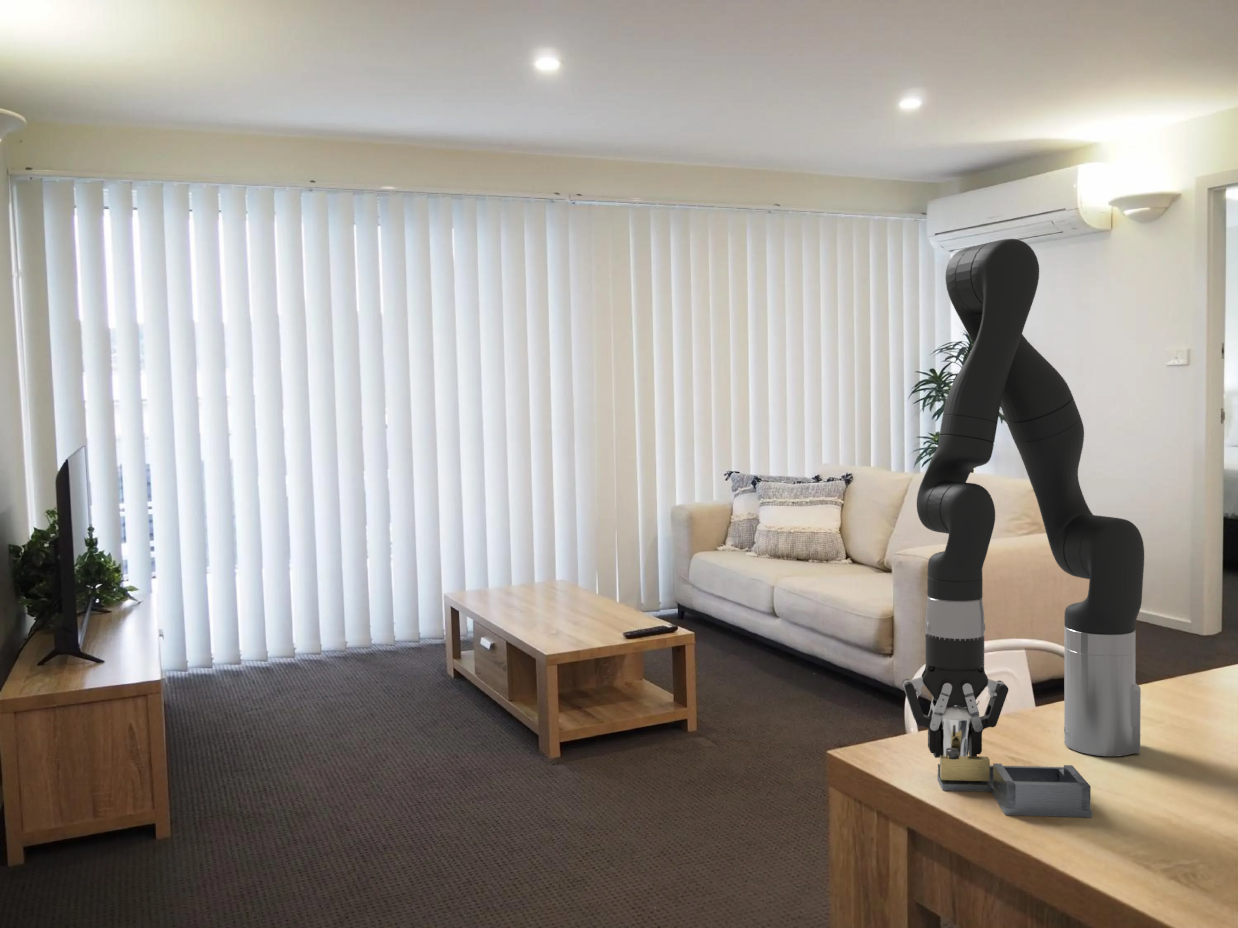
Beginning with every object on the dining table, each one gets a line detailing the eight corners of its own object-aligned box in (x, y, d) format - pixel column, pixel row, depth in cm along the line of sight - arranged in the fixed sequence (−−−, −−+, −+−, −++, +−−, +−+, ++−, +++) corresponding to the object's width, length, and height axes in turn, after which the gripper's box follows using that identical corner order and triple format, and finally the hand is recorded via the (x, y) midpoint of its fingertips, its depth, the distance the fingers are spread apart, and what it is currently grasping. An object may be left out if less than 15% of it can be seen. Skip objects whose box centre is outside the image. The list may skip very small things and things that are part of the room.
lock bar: (987, 777, 135) (987, 748, 135) (990, 781, 134) (990, 752, 133) (939, 775, 136) (939, 747, 136) (941, 780, 134) (941, 751, 134)
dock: (1064, 782, 136) (1064, 754, 135) (1092, 817, 124) (1092, 785, 124) (937, 779, 138) (937, 751, 138) (953, 813, 126) (953, 782, 126)
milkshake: (979, 779, 138) (981, 705, 137) (937, 776, 139) (939, 702, 138) (975, 767, 142) (977, 695, 141) (934, 764, 143) (936, 693, 142)
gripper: (1003, 625, 142) (1002, 748, 143) (896, 623, 144) (896, 745, 145) (1017, 637, 135) (1016, 767, 135) (904, 635, 137) (904, 764, 137)
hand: (954, 755), depth 140 cm, fingers closed on milkshake, 4 cm apart
